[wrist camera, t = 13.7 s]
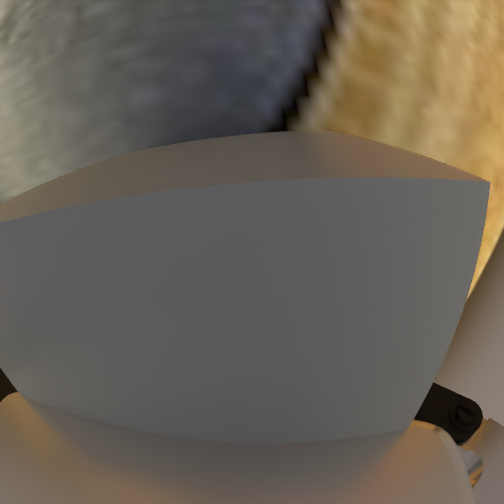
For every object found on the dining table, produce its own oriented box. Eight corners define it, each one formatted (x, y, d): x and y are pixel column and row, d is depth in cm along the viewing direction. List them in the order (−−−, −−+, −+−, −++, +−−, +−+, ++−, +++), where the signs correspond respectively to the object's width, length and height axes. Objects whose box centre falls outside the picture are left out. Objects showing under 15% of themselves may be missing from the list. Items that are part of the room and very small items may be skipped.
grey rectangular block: (130, 152, 11) (-62, 240, 3) (327, 129, 10) (489, 181, 2) (191, 382, 16) (155, 513, 8) (321, 381, 15) (333, 524, 7)
